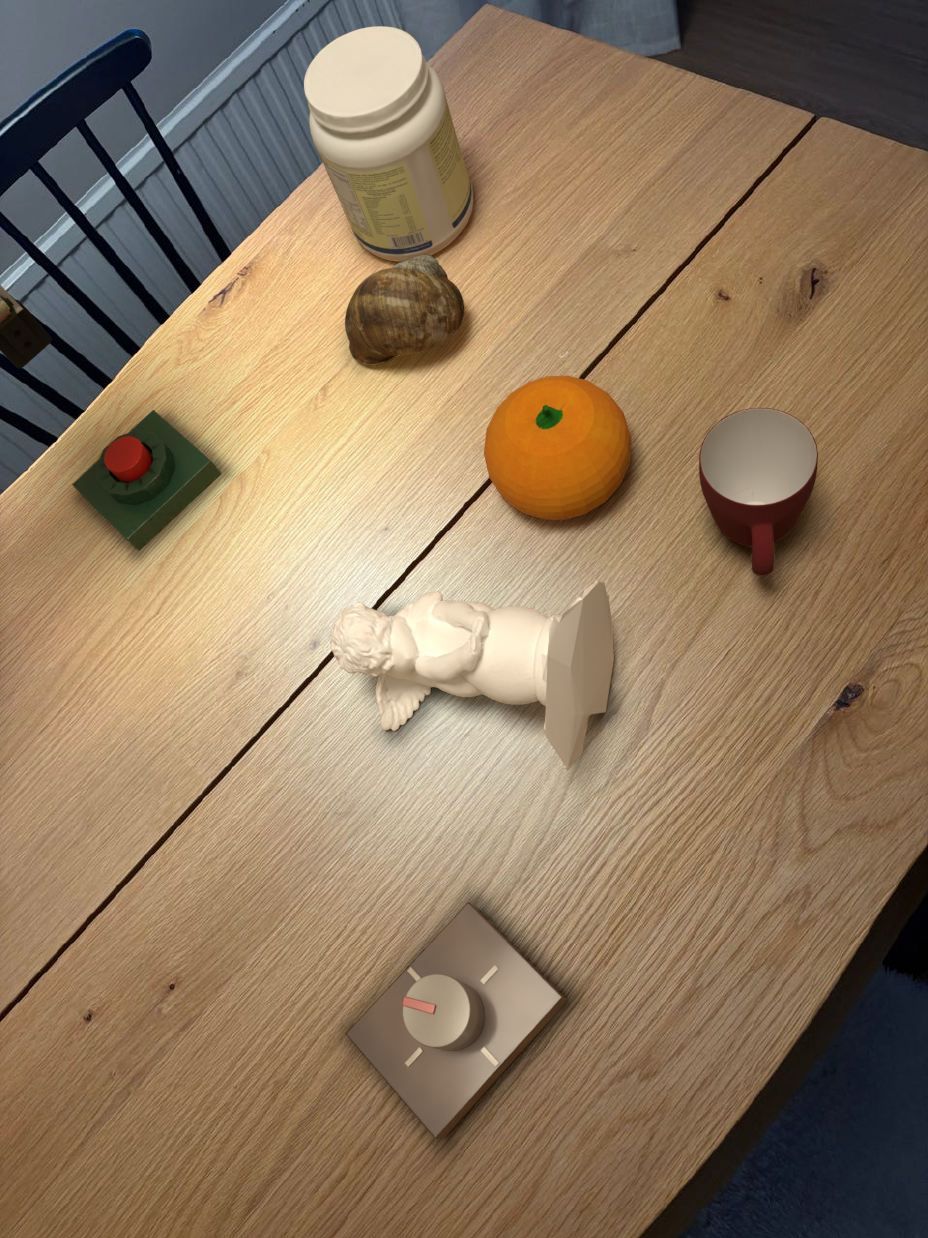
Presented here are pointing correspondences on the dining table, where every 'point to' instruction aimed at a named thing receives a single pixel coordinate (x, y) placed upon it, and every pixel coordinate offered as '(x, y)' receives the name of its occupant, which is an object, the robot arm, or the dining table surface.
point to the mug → (758, 478)
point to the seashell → (403, 311)
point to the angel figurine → (486, 658)
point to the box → (149, 482)
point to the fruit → (557, 447)
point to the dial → (443, 1012)
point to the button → (127, 459)
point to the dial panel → (511, 1022)
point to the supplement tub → (388, 143)
